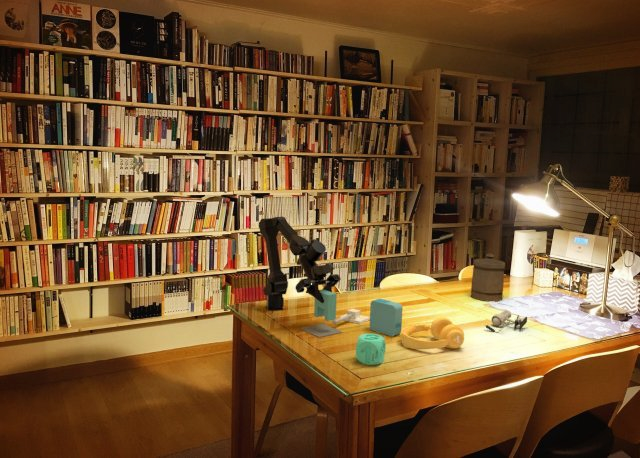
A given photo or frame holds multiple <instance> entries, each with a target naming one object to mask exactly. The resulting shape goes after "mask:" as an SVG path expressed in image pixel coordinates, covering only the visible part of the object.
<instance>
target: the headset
mask: <svg viewBox="0 0 640 458" xmlns="http://www.w3.org/2000/svg"><path fill="white" fill-rule="evenodd" d="M428 331H430V333H431V335H432V337H433V338H434V339H435V340H424V339H419V338H415V337H412V336H411V335H412V334H415V333H419V332H420V333H421V332H428ZM400 334H401V344H402V346H404V347H405V348H406V349H412V350H431V349H432V350H433V349H439V348H443V347H445V348H447V349H452V350H453V349H458V348H459V347H461V346H462V345H463V343H464V341H465V333H464V330H463V329H462V328H461V327H460V326H459V325H457V324H454V323H453V322H452V320H451V319H449V318H447V317H443V316H442V317H438V318H436V319H434V320H433V321H432V322H431V325H428V324H416V325H411V326H407V327H404V328H402V329H401V333H400Z"/></svg>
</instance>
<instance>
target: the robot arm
mask: <svg viewBox="0 0 640 458" xmlns="http://www.w3.org/2000/svg"><path fill="white" fill-rule="evenodd" d="M258 229H259V232H260V235H261V236H262V237H263V239H264V241H265V247H266V248H265V249H266V254H267V260H268V269H269V274H268V276H267V279H266V285H265V286H264V288H263V295H264V296H266V305H265V307H266V308H267V310H268V311H282V310H284V304H285V301H284V299H285V298H284V296H283V295H287V291H288V287H289V281H288V275H287V274H286V273H284V272H283V271H282V267H281V259H280V253H279V246H278V240H277V237H278V235H279V232H280V234H281V235H282V236H283V237H284V239H285V240H286V241H287V242H288V244H289V245H288V248H289V250H290V252H291V254H292V255H293V256H295V257H296V256H300V257H297V262H296V265H297V266H300V265H301V267H302V270H303V272H304V274H303V277H304V278H301V279H300V280H299V281H298V282H297V284H296V285H295V291H296V292H297V293H298V294H299V293H304V292H305V294H308V295H310V296H311V297H313V298H314V299H315V298H316V299H317V300H319V301H320V302H321V303H324V299H323V297H322V295H321V293H320V291H319V290H320V288H319V286H322V289H324V290H327V291H330V292H333V290H332V289H333V288H334V287H335V286H336V285H337V284H338V283H339V281H341V279H342V278H341V277H340V275H339V274H337V273H334V274H331V273H333V272H332V271H335V270H334V269H335V268H334V265H333V264H332V262H327V263H325V264H323V265H318V263H317V261H319V260H320V259H321V257H323V255H324V253H325V252H326V250H327V248H326V246H325V244H324V243H323V242H321V241H319V240H318V239H317V238H312V240H311V242H310V241H309V240H308V239H306V238H305V237H303V236H301V235H299V234H298V233H297V232H296V231H295V229H294V228H293V226H291V225H290V223H289V222H288V221H287V218H286V217H284V216H274V217H272V218H271V217H269V218H266V217H265V218H261V219H260V221H259V222H258ZM327 274H330V275H328V277H327ZM305 277H306V278H305ZM305 288H306V291H305Z"/></svg>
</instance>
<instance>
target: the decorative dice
mask: <svg viewBox="0 0 640 458" xmlns="http://www.w3.org/2000/svg"><path fill="white" fill-rule="evenodd" d="M386 347H387V345H386V339H385V338H384V337H383V336H382V335H380V334H376V333H363V334H361V335H359V336H358V339H357V341H356V347H355V357H356V359H357V360H358V361H359V363H360V364H363V365H366V366H367V365H368V366H376V365H377V366H378V365H380V364H382V363H383V362H384V358H385V355H386Z"/></svg>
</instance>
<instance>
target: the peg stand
mask: <svg viewBox="0 0 640 458" xmlns="http://www.w3.org/2000/svg"><path fill="white" fill-rule="evenodd" d="M361 312H362V310H361V309H356V308H349V309H347V310H346V313H345V314H342V315H340V316H339V318H336V320H332V324H333V325H337V324H339V322H342V321H346V322H350V323H354V324H358V325H361V324H363V323H366V322H368V321H370V316H367V315H362V314H361Z"/></svg>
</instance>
